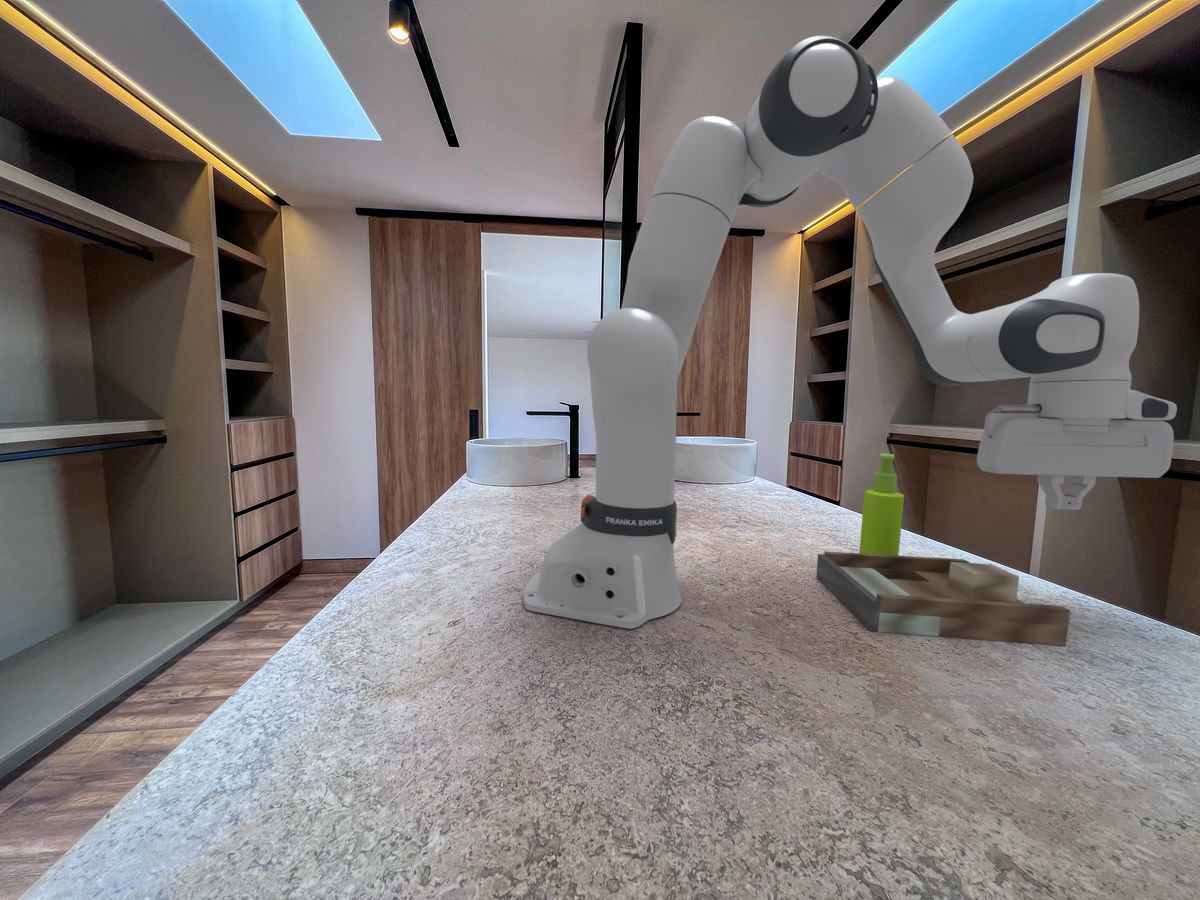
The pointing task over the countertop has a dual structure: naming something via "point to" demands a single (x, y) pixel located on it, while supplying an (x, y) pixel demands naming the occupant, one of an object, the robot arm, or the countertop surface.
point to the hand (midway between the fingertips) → (1062, 508)
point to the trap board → (931, 601)
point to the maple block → (983, 581)
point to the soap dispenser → (882, 513)
